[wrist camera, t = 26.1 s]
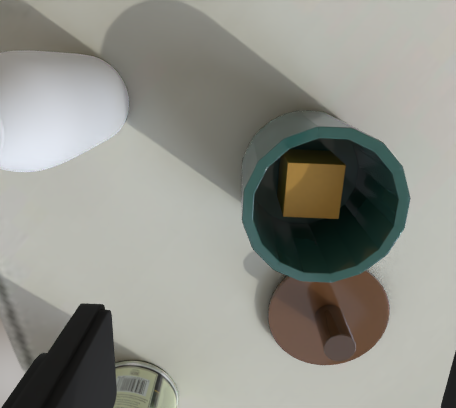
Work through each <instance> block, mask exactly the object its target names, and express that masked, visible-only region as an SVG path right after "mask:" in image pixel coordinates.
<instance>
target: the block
mask: <svg viewBox="0 0 456 408" xmlns="http://www.w3.org/2000/svg"><path fill="white" fill-rule="evenodd" d="M345 168H346V165H345V164H344V163H343V162H342V161H341V160H340V159H339V158H338V157H337V156H335V155H334V154H333V153H332V152H331V151H322V150H297V149H289V150H288V151H287V152H285V153H284V154H283V155H282V156H281V157H280V166H279V178H278V191H277V197H278V201H279V204H280V207H281V211H282V214H283V217H303V218H326V219H339V212H340V205H341V197H342V190H343V183H344V175H345Z"/></svg>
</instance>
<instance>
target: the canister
mask: <svg viewBox="0 0 456 408" xmlns="http://www.w3.org/2000/svg"><path fill="white" fill-rule="evenodd" d="M289 149H297V150H322V151H331V152H332V153H333V154H334V155H335V156H337V157H338V158H339V159H340V160H341V161H342V162H343V163H344V164H345V165H346V168H345V175H344V183H343V190H342V197H341V205H340V212H339V219H326V218H303V217H283V214H282V211H281V207H280V204H279V201H278V197H277V191H278V178H279V166H280V157H281V156H282V155H283V154H284V153H285V152H287V151H288V150H289ZM241 194H242V223H243V225H244V228H245V231H246V233H247V236H248V238H249V241H250V244H251V246H252V248H253V250H254V251H255V252H256V253H257V254H258V255H259V256H260V257H261V258H262V259H263V260H264V261H265V262H266V263H267V264H268V265H269V266H270V267H271V268H272V269H273V270H275V271H277V272H280V273H282V274H285V275H287V276H289V277H292V278H294V279H296V280H299V281H305V282H327V283H333V282H336V281H339V280H342V279H346V278H349V277H352V276H356V275H359V274H361V273H363V272H364V271H366V270H367V269H368V268H370V267H371V266H372V265H374V264H375V263H377V262H378V261H379V260H381V259H382V258H383V257H385V256H386V255H387V254H388V253H389V251H390V250H391V248H392V247H393V245H394V244H395V242H396V241H397V239H398V238H399V236H400V234H401V233H402V231H403V230H404V228H405V223H406V218H407V213H408V208H409V203H410V194H409V190H408V186H407V182H406V178H405V174H404V169H403V166H402V165H401V164H400V163H399V161H398V160H397V159H396V158H395V157H394V155H393V154H392V153H391V152H390V150H389V149H388V148H387V147H386V145H385V144H384V143H383V142H381V141H379V140H378V139H376V138H374V137H372V136H370V135H368V134H366V133H364V132H362V131H360V130H359V129H357V128H355V127H353V126H351V125H349V124H347V123H345V122H343V121H341V120H339V119H337V118H335V117H333V116H331V115H329V114H327V113H325V112H320V111H294V112H291V113H287V114H284V115H282V116H279V117H277V118H275V119H273V120H271V121H270V122H269V123H268V124H266V125H265V126H264V127H262V128H261V130H260V131H259V132H258V133H257V134H256V135H255V136H254V137H253V138H252V140H251V142H250V144H249V146H248V148H247V150H246V153H245V155H244V157H243V160H242V179H241Z"/></svg>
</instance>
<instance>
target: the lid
mask: <svg viewBox="0 0 456 408" xmlns="http://www.w3.org/2000/svg"><path fill="white" fill-rule="evenodd" d="M389 314H390V307H389V301H388V297H387V294H386V292H385V290H384V288H383V286H382V285H381V283H380V282H379V281H378V280H377V278H376V277H375V276H373V275H372V274H371V273H370V272H369V271H367V270H366V271H364V272H363V273H361V274H359V275H356V276H352V277H349V278H346V279H342V280H339V281H336V282H333V283H327V282H305V281H299V280H296V279H294V278H292V277H289V276H287V277H286V278H285V279H283V281H282V282H281V283H280V284H279V285H278V287H277V288H276V290H275V291H274V293H273V295H272V297H271V300H270V303H269V309H268V320H269V327H270V330H271V333H272V335H273V337H274V339H275V340H276V342H277V343H278V345H279V346H280V347H281V348H282V349H283V350H284V351H285V352H287V353H288V354H289V355H291V356H293V357H294V358H296V359H298V360H301V361H304V362H307V363H311V364H317V365H334V364H340V363H345V362H348V361H351V360H353V359H355V358H358V357H359V356H361V355H363V354H364V353H366V352H367V351H369V350H370V349H371V348H372V347H373V346H374V345H375V344H376V343H377V342H378V341H379V339H380V338H381V337H382V335H383V333H384V332H385V329H386V327H387V324H388V320H389Z"/></svg>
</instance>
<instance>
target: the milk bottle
mask: <svg viewBox="0 0 456 408" xmlns="http://www.w3.org/2000/svg"><path fill="white" fill-rule="evenodd" d="M128 112H129V96H128V91H127V88H126V85H125V83H124V81H123V79H122V78H121V76H120V75H119V73H118V72H117V71H116V70H115V69H114V68H113V67H112V66H111V65H109V64H108V63H107V62H105V61H103V60H102V59H99V58H97V57H94V56H90V55H84V54H75V53H62V52H49V51H32V50H21V51H6V52H0V169H4V170H8V171H16V172H34V171H40V170H45V169H49V168H52V167H55V166H57V165H60V164H62V163H64V162H66V161H69V160H71V159H73V158H75V157H76V156H78V155H80V154H82V153H84V152H86V151H88V150H90V149H92V148H93V147H95V146H97V145H99V144H101V143H103V142H104V141H106V140H108V139H109V138H111V137H112V136H114V135H115V134H116V133H117V132H118V131H119V130H120V129H121V128H122V126H123V125H124V123H125V121H126V119H127V116H128Z"/></svg>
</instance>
